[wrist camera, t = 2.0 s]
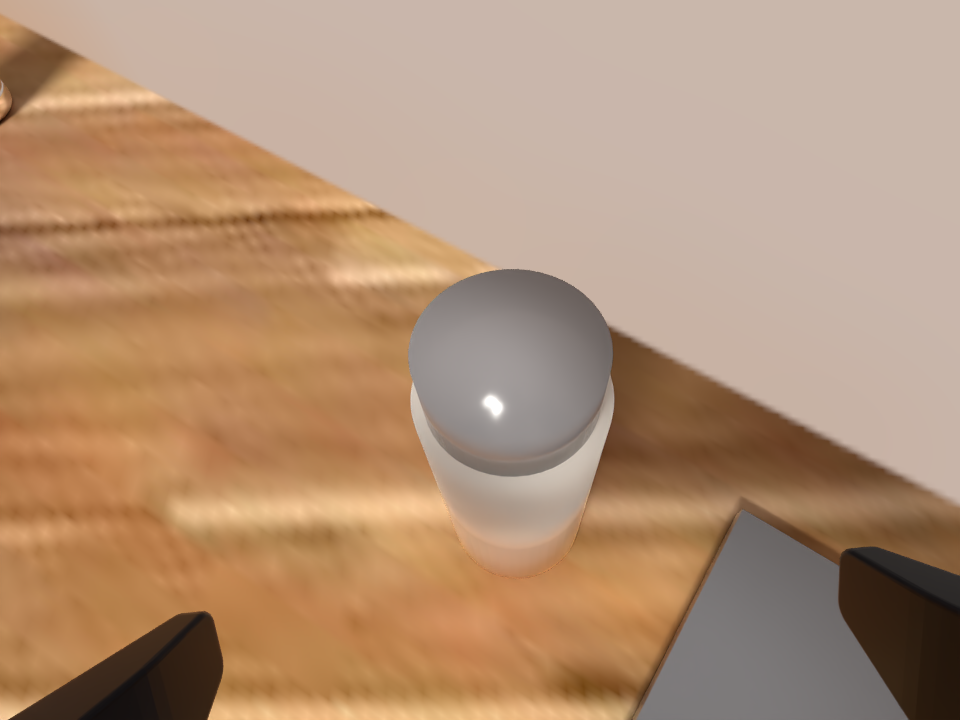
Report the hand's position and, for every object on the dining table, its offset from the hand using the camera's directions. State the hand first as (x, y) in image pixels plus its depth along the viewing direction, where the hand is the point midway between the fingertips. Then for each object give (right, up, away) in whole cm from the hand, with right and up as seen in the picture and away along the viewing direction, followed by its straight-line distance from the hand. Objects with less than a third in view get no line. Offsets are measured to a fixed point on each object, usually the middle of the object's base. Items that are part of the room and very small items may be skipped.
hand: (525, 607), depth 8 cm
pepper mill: (+1, -3, +14) cm, 14 cm away
